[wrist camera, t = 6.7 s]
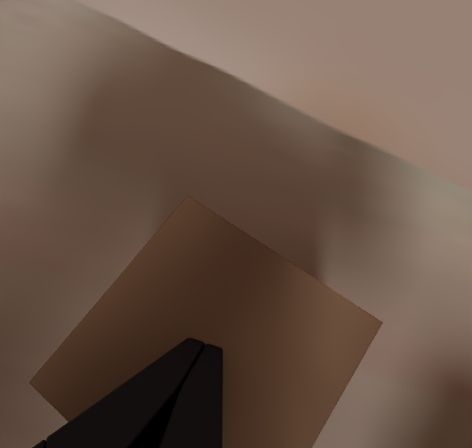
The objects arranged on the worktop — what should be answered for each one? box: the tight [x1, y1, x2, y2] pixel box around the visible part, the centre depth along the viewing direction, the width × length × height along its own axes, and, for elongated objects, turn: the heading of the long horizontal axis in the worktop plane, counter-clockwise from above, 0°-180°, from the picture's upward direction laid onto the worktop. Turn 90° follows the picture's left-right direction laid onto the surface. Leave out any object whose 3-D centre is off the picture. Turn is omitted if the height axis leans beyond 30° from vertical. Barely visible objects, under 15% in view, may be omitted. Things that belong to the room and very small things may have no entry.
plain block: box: [29, 196, 383, 448], centre depth 13 cm, size 6×6×9 cm
